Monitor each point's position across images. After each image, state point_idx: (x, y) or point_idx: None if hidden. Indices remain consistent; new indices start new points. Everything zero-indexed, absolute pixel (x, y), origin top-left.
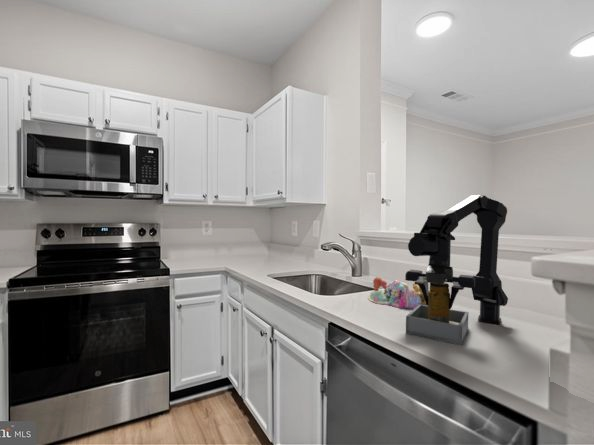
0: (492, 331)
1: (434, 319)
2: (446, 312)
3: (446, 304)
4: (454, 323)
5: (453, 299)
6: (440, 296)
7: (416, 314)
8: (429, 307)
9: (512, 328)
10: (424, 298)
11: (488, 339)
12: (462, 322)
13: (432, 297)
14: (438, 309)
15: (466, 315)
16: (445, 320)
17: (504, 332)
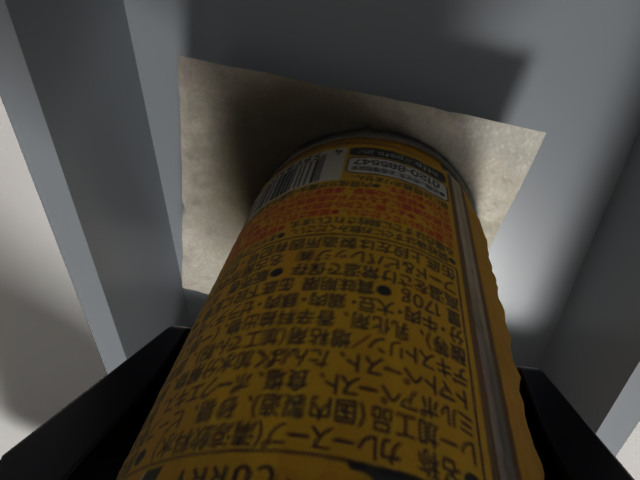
0: (61, 343)
1: (398, 159)
2: (232, 253)
3: (189, 344)
4: (222, 262)
5: (22, 446)
6: (236, 471)
7: (621, 300)
8: (489, 298)
9: (17, 421)
10: (625, 472)
11: (6, 180)
12: (3, 61)
13: (460, 450)
14: (332, 239)
15: (106, 360)
16: (268, 184)
17: (12, 354)
